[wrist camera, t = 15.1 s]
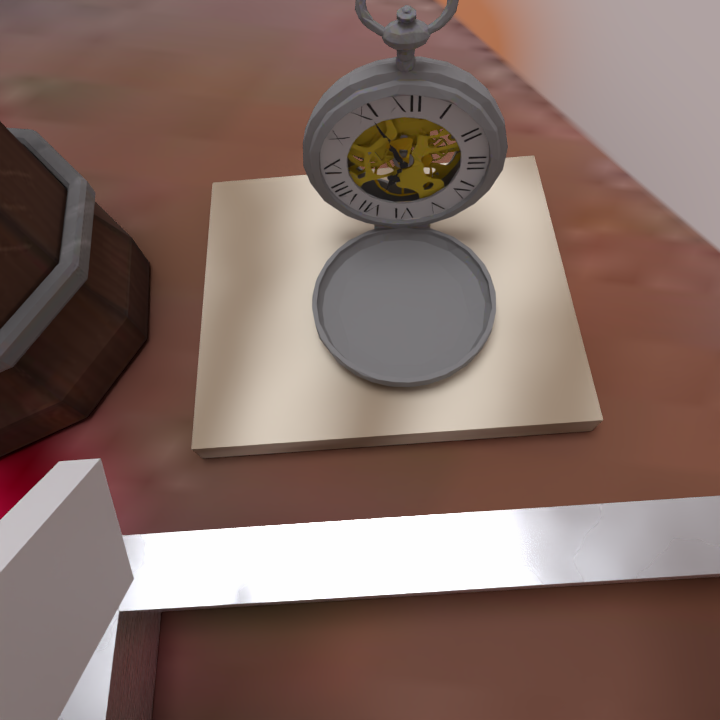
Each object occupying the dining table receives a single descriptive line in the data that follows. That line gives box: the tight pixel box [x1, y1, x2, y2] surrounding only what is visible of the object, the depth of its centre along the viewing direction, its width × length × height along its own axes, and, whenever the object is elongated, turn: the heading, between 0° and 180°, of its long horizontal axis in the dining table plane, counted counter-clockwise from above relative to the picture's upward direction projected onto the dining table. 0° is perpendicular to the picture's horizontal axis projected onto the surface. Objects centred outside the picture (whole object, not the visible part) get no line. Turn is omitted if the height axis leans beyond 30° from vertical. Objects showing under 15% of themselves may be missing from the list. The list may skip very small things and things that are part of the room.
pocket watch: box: [303, 0, 508, 387], centre depth 16 cm, size 8×8×10 cm
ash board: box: [191, 156, 603, 458], centre depth 21 cm, size 14×12×1 cm
